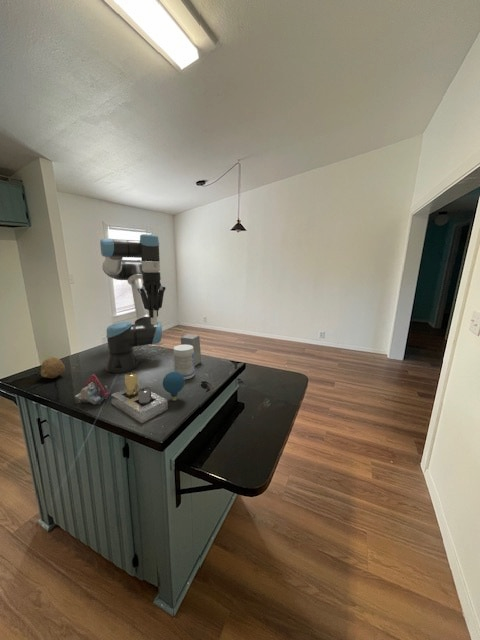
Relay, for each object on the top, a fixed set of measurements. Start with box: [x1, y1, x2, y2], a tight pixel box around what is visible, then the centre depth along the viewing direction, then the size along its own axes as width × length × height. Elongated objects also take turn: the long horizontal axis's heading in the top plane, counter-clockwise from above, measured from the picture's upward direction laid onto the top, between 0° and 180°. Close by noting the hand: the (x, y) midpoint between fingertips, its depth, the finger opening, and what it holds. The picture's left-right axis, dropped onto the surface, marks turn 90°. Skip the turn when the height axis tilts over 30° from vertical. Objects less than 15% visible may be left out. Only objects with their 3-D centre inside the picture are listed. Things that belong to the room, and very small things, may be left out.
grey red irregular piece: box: [74, 373, 111, 405], centre depth 99 cm, size 11×11×12 cm
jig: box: [110, 384, 169, 424], centre depth 96 cm, size 20×11×8 cm, turn 54°
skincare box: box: [180, 333, 202, 367], centre depth 137 cm, size 8×7×16 cm
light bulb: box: [162, 371, 186, 401], centre depth 100 cm, size 8×8×12 cm
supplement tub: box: [173, 344, 195, 380], centre depth 122 cm, size 10×10×15 cm
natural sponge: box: [40, 356, 66, 379], centre depth 118 cm, size 9×9×10 cm
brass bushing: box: [124, 371, 139, 399], centre depth 98 cm, size 4×4×12 cm
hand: (154, 324), depth 116 cm, fingers closed
